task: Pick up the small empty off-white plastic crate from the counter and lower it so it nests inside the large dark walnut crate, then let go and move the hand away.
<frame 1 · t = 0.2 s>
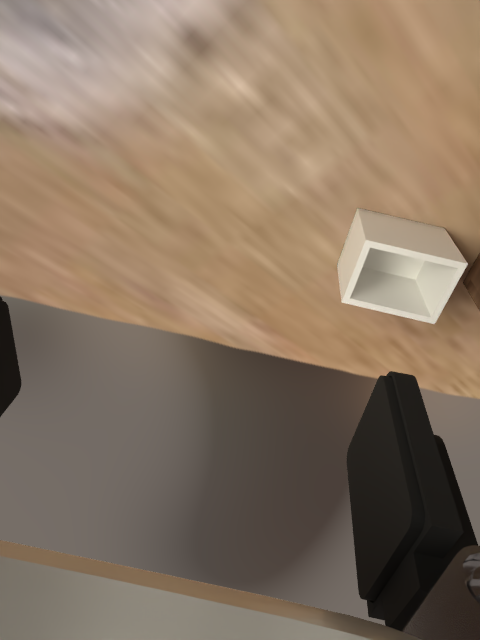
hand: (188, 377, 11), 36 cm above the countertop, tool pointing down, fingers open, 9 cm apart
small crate: (388, 246, 47), on the countertop
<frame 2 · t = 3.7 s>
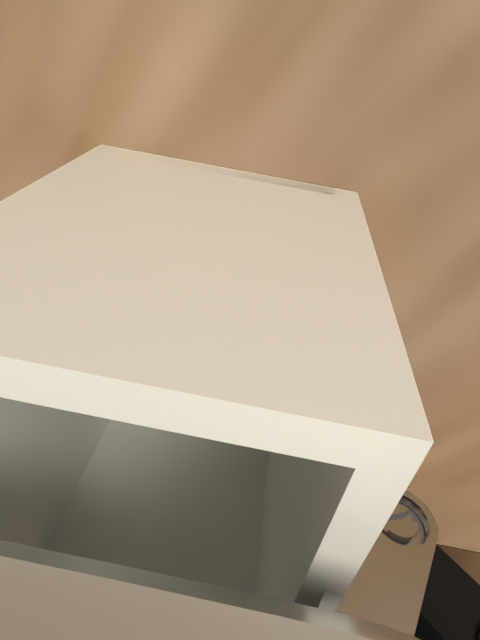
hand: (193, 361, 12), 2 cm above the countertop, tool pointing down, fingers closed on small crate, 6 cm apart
big crate: (317, 634, 24), on the countertop
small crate: (208, 316, 14), on the countertop, touching gripper
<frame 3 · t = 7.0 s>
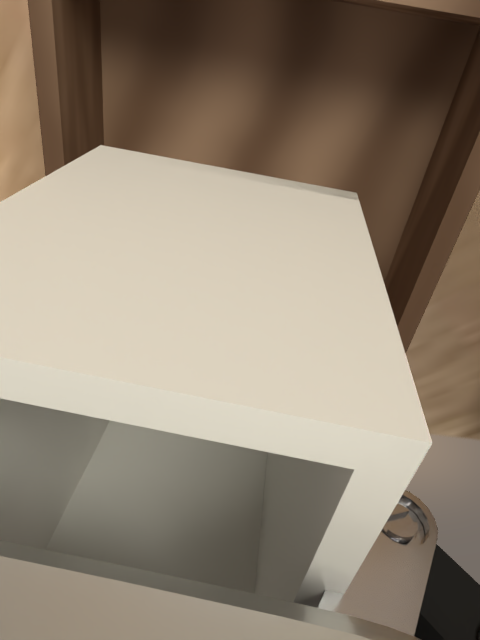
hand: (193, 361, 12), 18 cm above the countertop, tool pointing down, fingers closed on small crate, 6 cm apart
big crate: (257, 179, 26), on the countertop
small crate: (208, 316, 14), point 15 cm above the countertop, touching gripper
when the fingers open (5 cm above the countertop, at t = 10.4 s): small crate drops 1 cm, resting on big crate.
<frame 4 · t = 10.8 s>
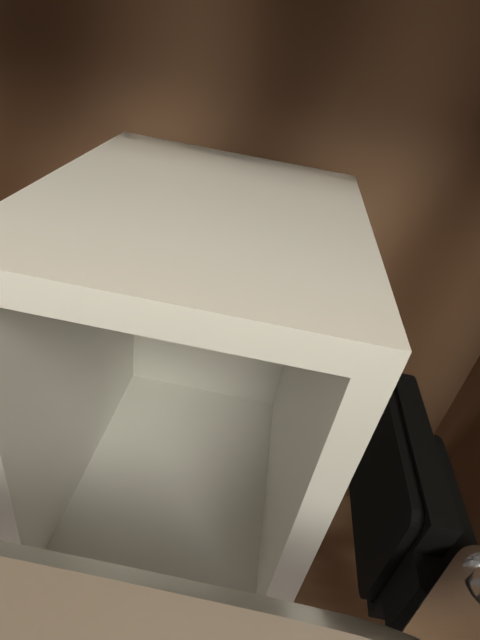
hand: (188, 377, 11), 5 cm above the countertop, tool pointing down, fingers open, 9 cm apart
big crate: (221, 278, 16), on the countertop
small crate: (218, 292, 15), point 1 cm above the countertop, touching big crate
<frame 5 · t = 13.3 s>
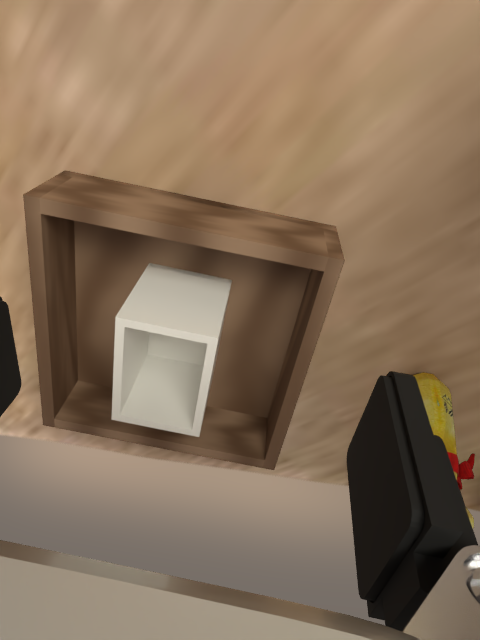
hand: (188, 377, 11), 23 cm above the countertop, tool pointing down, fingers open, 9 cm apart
chocolate bunny: (410, 412, 41), on the countertop
big crate: (185, 313, 38), on the countertop
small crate: (184, 319, 37), point 1 cm above the countertop, touching big crate
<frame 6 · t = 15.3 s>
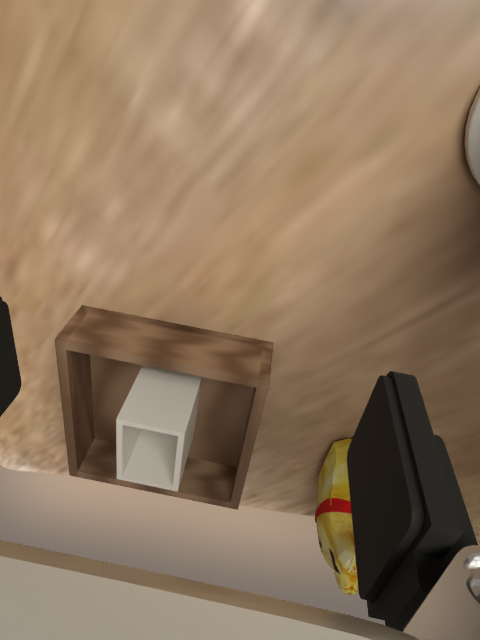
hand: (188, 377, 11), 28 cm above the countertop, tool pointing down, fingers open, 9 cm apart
chocolate bunny: (345, 464, 54), on the countertop
big crate: (171, 394, 51), on the countertop
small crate: (169, 400, 50), point 1 cm above the countertop, touching big crate
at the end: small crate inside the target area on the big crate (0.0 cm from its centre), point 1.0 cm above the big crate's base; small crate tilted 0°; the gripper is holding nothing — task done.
